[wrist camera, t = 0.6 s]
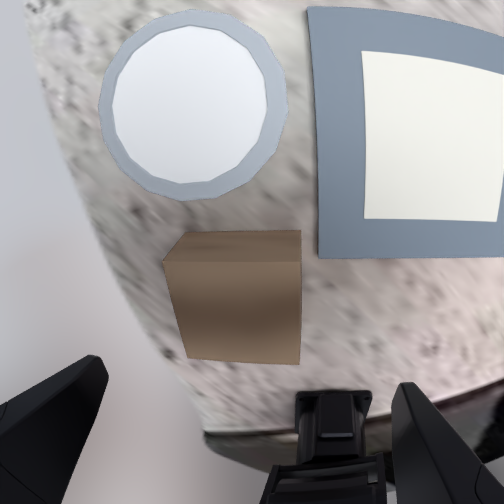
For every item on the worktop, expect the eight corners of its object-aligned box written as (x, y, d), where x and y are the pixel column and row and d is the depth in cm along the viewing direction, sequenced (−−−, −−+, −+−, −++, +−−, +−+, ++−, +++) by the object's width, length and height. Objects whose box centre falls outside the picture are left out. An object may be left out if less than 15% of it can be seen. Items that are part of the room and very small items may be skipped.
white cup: (236, 18, 13) (194, -27, 7) (320, 112, 15) (334, 119, 9) (146, 100, 16) (68, 109, 10) (222, 187, 18) (178, 238, 12)
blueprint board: (509, 252, 16) (514, 257, 16) (318, 253, 19) (318, 259, 18) (524, 47, 10) (530, 47, 9) (306, 9, 12) (307, 5, 12)
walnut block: (301, 322, 22) (299, 364, 18) (203, 319, 23) (187, 358, 19) (300, 228, 18) (299, 261, 15) (186, 230, 20) (161, 261, 16)
